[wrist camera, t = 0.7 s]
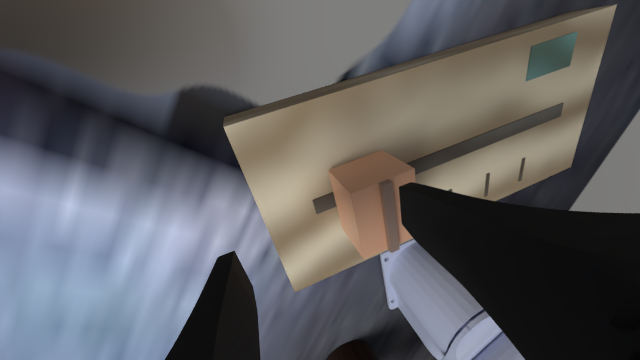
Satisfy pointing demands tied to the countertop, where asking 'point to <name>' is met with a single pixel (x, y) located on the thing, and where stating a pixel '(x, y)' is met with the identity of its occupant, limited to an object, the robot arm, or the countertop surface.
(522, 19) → the countertop surface
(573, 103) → the fader console
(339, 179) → the fader knob
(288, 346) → the countertop surface
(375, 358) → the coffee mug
